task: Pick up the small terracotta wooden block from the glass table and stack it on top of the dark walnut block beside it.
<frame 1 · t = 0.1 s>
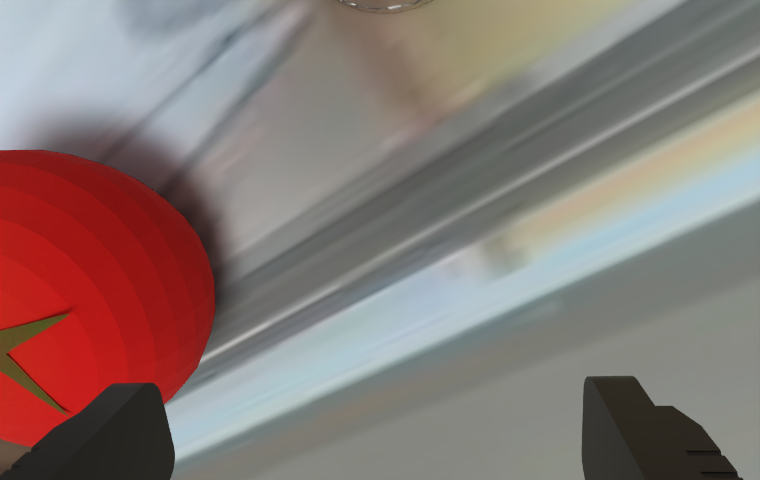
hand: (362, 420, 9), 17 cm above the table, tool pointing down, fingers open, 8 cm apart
tomato: (132, 260, 29), on the table
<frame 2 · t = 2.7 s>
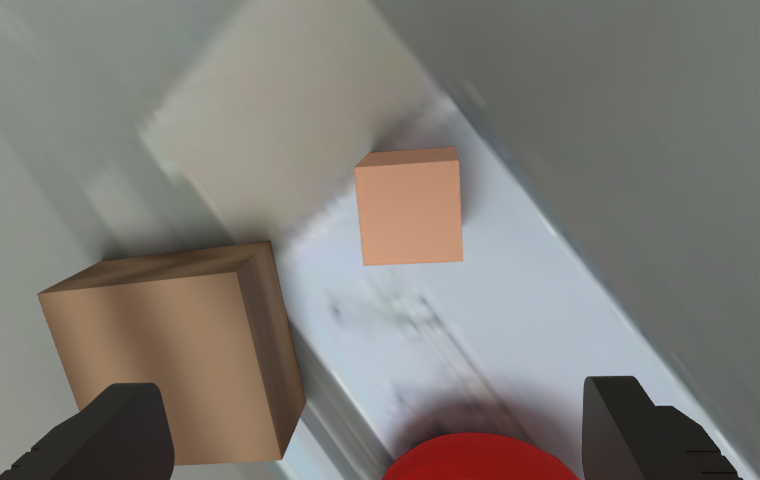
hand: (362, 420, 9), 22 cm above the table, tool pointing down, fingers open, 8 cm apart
walnut block: (207, 331, 35), on the table
terracotta block: (414, 191, 30), on the table
tomato: (476, 477, 36), on the table
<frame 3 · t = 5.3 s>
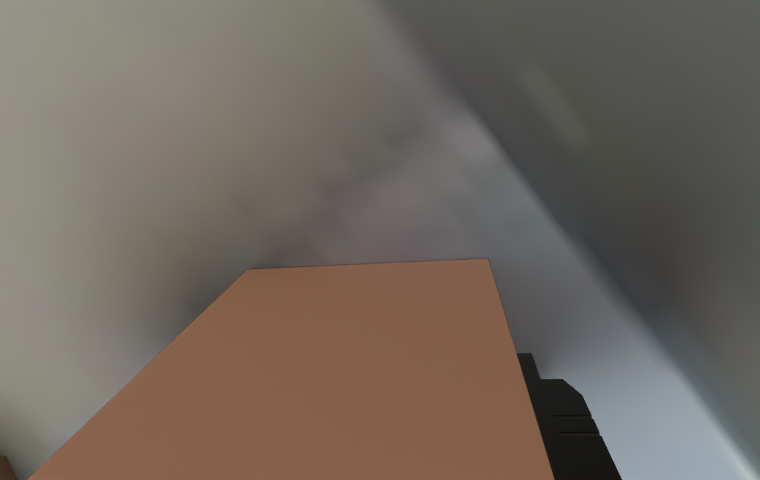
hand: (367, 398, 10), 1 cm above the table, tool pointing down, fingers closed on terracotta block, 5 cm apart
terracotta block: (374, 371, 11), on the table, touching gripper
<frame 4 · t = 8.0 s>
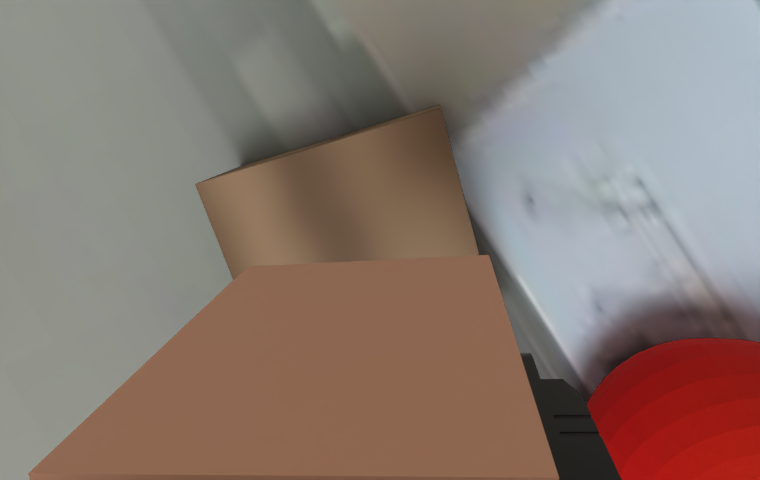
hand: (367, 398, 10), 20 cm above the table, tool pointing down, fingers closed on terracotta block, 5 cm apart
walnut block: (368, 234, 30), on the table
terracotta block: (375, 368, 11), point 19 cm above the table, touching gripper
tomato: (680, 401, 31), on the table
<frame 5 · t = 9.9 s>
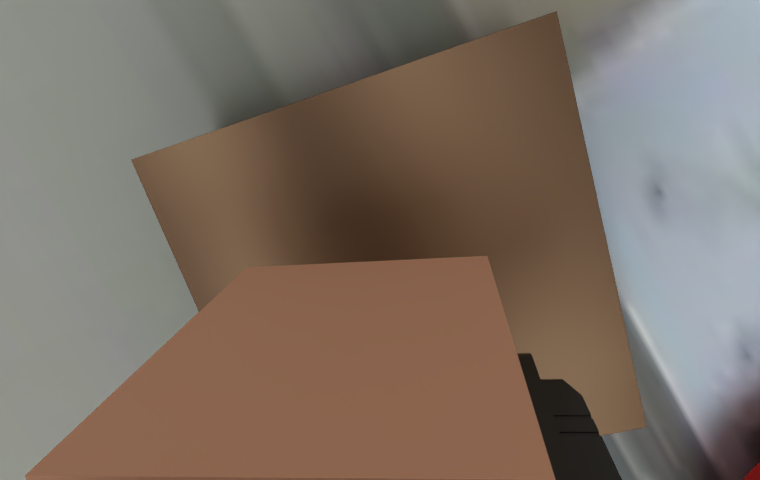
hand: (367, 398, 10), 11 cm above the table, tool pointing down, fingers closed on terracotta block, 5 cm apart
walnut block: (406, 237, 20), on the table
terracotta block: (374, 369, 11), point 10 cm above the table, touching gripper
when the fingers open (8 cm above the table, at t = 11.2 s): terracotta block drops 2 cm, point 6 cm above the table.
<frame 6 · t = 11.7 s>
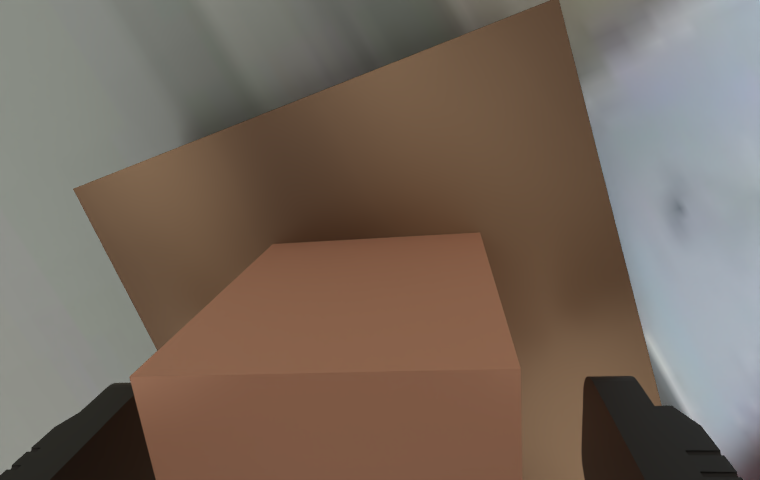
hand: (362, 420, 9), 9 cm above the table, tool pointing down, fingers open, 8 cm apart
walnut block: (398, 257, 18), on the table
terracotta block: (382, 333, 13), point 6 cm above the table
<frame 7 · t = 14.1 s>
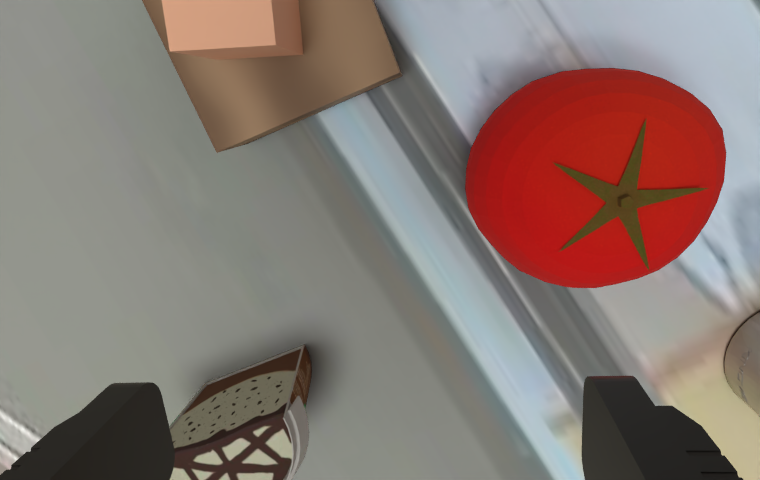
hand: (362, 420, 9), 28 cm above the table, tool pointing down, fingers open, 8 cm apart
walnut block: (286, 25, 34), on the table
food container: (272, 393, 42), on the table
terracotta block: (255, 9, 28), point 6 cm above the table
tomato: (561, 168, 35), on the table
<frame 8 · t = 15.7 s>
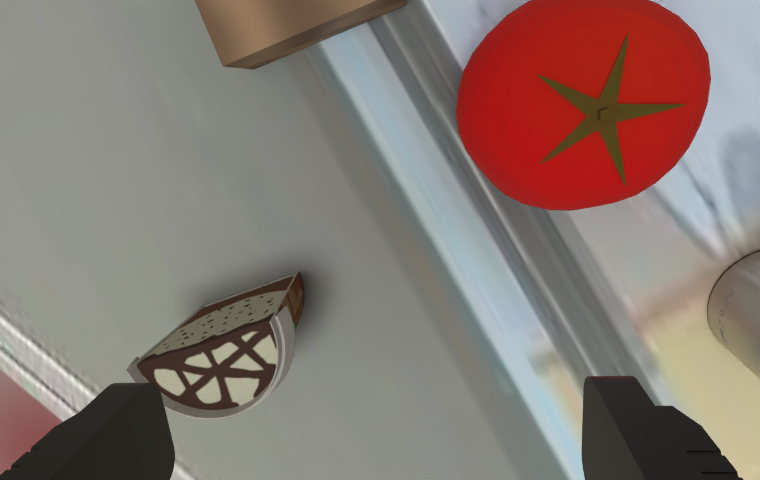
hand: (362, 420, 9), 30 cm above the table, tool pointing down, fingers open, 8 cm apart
food container: (265, 319, 43), on the table
tomato: (554, 104, 36), on the table
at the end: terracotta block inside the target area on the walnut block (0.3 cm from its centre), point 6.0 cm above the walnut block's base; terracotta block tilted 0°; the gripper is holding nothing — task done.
